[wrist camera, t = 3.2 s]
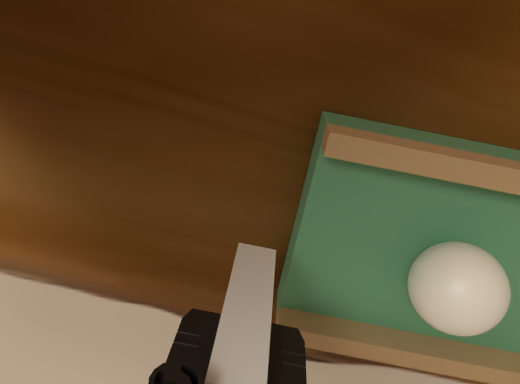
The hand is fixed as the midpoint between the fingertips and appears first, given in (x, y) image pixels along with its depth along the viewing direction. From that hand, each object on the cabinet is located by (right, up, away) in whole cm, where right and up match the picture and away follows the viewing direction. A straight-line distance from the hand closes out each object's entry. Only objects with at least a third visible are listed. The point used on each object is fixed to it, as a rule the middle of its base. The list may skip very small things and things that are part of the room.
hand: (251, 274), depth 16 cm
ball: (+9, -1, +1) cm, 9 cm away
